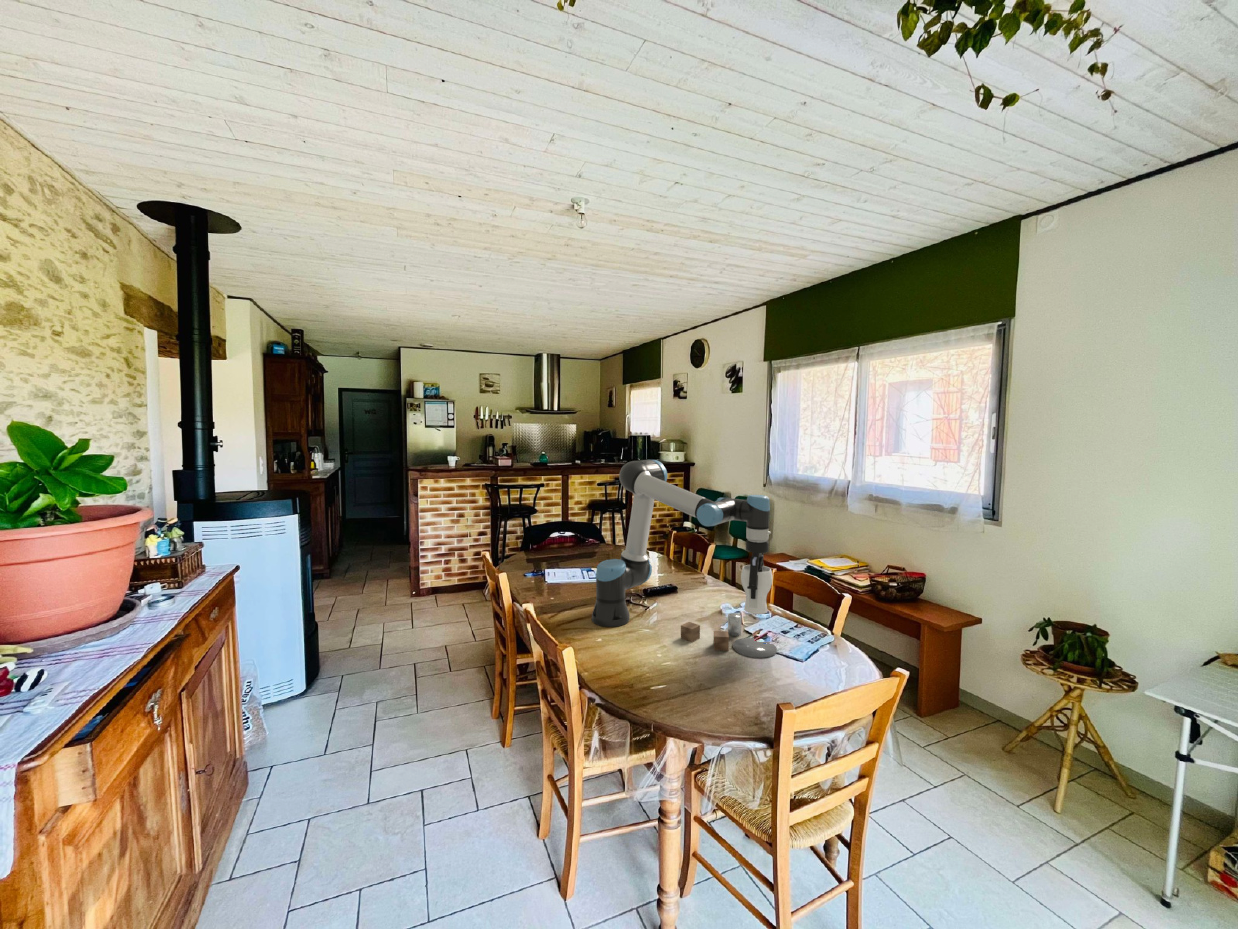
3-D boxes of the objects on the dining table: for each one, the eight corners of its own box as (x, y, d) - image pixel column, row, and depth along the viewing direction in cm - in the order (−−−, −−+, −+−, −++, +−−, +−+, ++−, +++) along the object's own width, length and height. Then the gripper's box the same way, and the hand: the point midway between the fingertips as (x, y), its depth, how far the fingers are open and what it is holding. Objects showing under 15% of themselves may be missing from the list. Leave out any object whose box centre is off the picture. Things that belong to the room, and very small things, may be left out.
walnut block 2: (713, 650, 178) (714, 636, 178) (713, 644, 183) (713, 630, 183) (728, 651, 177) (728, 637, 177) (727, 645, 182) (727, 631, 182)
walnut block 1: (680, 638, 188) (680, 625, 187) (688, 634, 191) (688, 621, 191) (691, 642, 184) (691, 629, 184) (699, 638, 188) (700, 625, 187)
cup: (772, 617, 172) (774, 573, 171) (740, 614, 174) (741, 571, 173) (770, 606, 183) (771, 565, 181) (739, 604, 185) (740, 563, 183)
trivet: (728, 653, 176) (728, 651, 176) (737, 636, 189) (737, 635, 189) (774, 661, 170) (774, 659, 170) (779, 643, 183) (779, 642, 183)
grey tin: (726, 635, 191) (726, 616, 190) (729, 630, 196) (729, 612, 195) (739, 637, 189) (740, 618, 188) (742, 632, 194) (742, 614, 193)
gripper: (763, 548, 164) (762, 615, 166) (772, 534, 185) (771, 593, 187) (740, 546, 167) (738, 611, 169) (751, 532, 188) (750, 591, 190)
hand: (755, 602), depth 178 cm, fingers closed on cup, 10 cm apart
